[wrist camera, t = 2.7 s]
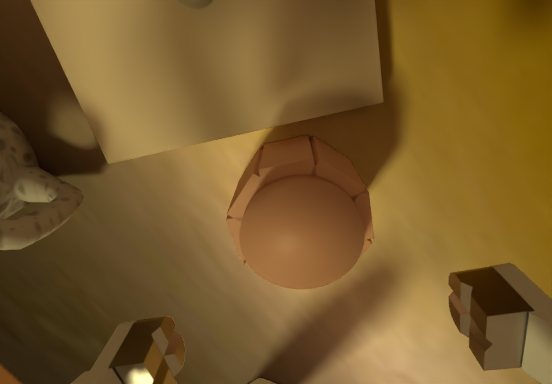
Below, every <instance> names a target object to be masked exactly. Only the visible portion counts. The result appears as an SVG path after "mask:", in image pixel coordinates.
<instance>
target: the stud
mask: <svg viewBox="0 0 552 384" xmlns="http://www.w3.org/2000/svg"><path fill="white" fill-rule="evenodd" d="M173 1H175V2H177V3H180V4H182V5H184V6H187V7H189V8H192V9H202V8H205V7H207V6H208V5H210V4H211V3H212V2H213V0H173Z"/></svg>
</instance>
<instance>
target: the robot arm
mask: <svg viewBox="0 0 552 384" xmlns="http://www.w3.org/2000/svg"><path fill="white" fill-rule="evenodd" d="M448 284H449V286H450V287H451V289H452V290H453V292H452V293H451V294H450V296H449V308H450V312H451V316H452V318H453V321H454V323H455V325H456V327H457V328H458V330H459V332H460V333H462V334H464V335H465V336H467V337H469V348H470V349H471V351H472V353H473V354H474V356H475V357H476V359H477V361H478V362H479V364H480V365H481V367H482V369H483V370H484V371H486V370H497V369H509V368H520V367H522V368H521V369H522V370H523V371H525V372H526V373H527V374H529V375H530V376H532V377H533V378H534V379H536V380H537V381H539V382H540V383H541V384H552V299H551V298H550V297H549V296H548V295H546V294H545V293H544V292H543V291H542V290H541V289H540V288H539V287H538V286H537V285H536V284H535V283H533V282H532V281H531V280H530V279H529V278H528V277H527V276H526V275H525V274H524V273H523V272H522V271H520V270H519V269H518V268H517V267H516V266H515V265H513V264H511V263H506V264H500V265H494V266H489V267H483V268H477V269H471V270H465V271H459V272H452V273H450V275H449V283H448ZM175 326H176V324H175V322H174V321H173V319H172V317H169V316H165V317H157V318H149V319H141V320H137V321H128V322H123V323H121V324H120V325H118V327H117V328H116V330H115V331H114V333H113V335H112V336H111V338H110V339H109V341H108V343H107V344H106V346H105V347H104V349H103V351H102V352H101V354H100V355H99V357H98V359H97V360H96V362H95V364H94V365H93V367H92V368H91V370H90V371H87V372H84V373H83V374H82V375H80V376H79V377H78V378H77V379H76V380H74V381H73V382H72V383H71V384H177V382H176V380H175V377H174V376H175V375H176V374H177V373H178V372H179V371H180V370H181V369H182V366H183V363H184V360H185V345H184V341H183V339H182V336H181V335H180V334H178V333H176V332H175V331H174V329H175Z"/></svg>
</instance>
